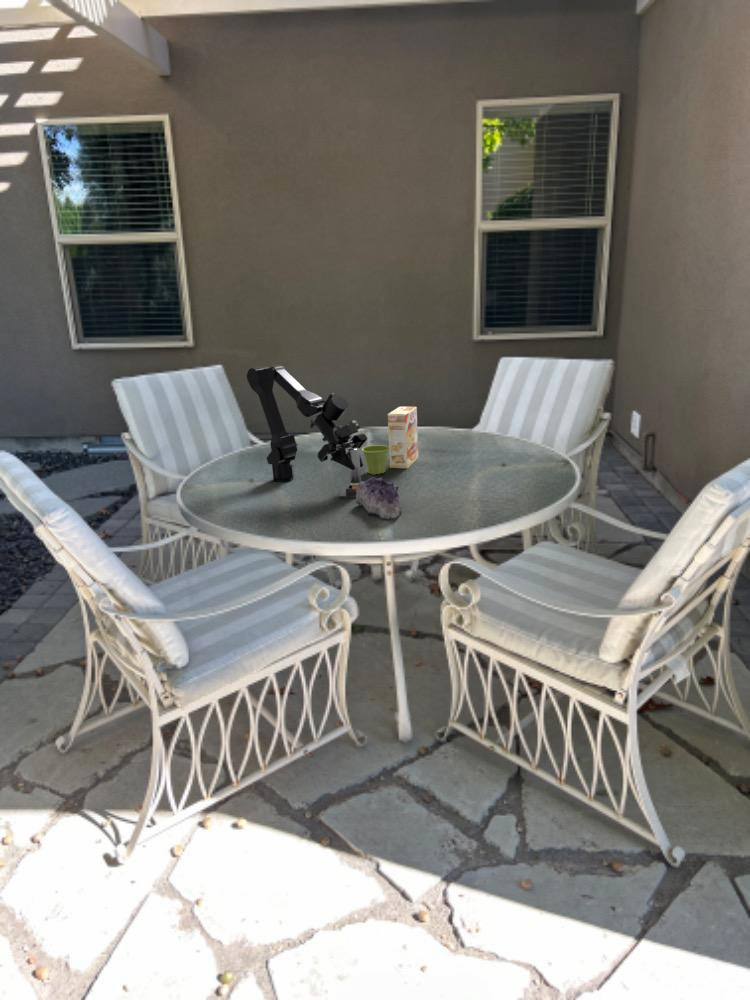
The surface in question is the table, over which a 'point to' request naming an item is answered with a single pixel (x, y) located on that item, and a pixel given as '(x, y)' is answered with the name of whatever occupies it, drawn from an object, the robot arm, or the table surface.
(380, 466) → the plant pot
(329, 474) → the table surface
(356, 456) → the column
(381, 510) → the geode
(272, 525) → the table surface
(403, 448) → the coffeecake box
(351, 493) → the stand base
